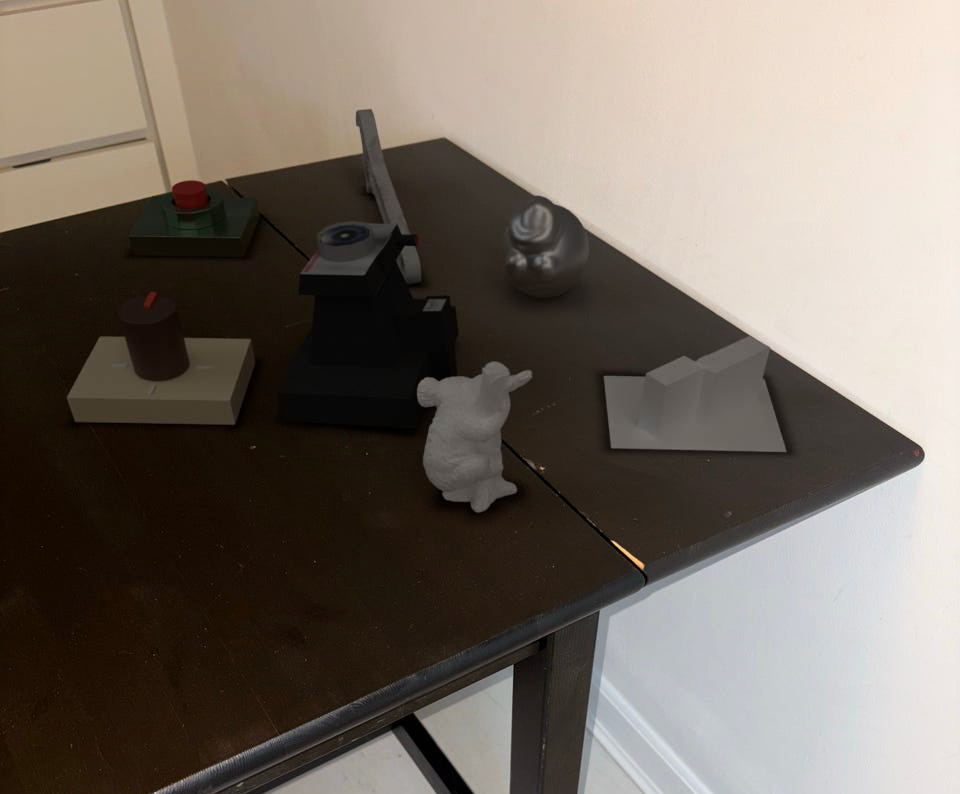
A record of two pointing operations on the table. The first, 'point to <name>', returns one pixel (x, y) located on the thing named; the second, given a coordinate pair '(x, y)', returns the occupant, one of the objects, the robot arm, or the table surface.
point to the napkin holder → (697, 404)
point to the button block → (195, 227)
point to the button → (190, 194)
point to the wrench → (385, 192)
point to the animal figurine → (469, 434)
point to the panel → (164, 385)
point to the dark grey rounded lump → (544, 248)
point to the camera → (366, 333)
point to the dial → (154, 337)
